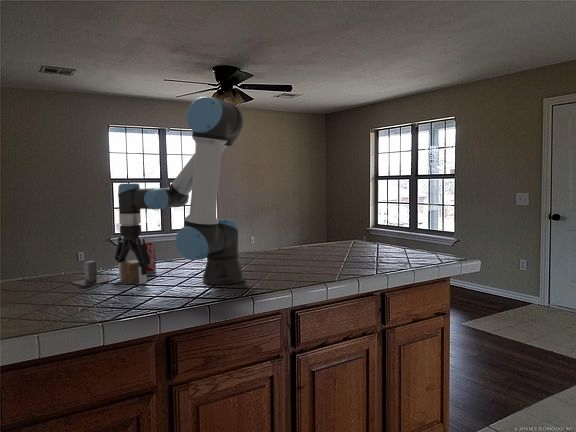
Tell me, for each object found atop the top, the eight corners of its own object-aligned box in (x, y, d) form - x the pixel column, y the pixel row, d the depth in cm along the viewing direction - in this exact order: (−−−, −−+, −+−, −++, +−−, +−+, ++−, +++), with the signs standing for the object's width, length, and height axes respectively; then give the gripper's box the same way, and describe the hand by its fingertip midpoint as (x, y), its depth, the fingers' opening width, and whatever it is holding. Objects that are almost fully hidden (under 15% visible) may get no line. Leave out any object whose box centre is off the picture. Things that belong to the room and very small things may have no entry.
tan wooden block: (143, 281, 163) (143, 261, 162) (130, 283, 158) (129, 263, 158) (135, 279, 166) (134, 259, 166) (122, 282, 162) (121, 262, 161)
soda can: (150, 274, 175) (149, 242, 174) (134, 274, 176) (133, 242, 175) (159, 271, 182) (158, 240, 181) (143, 270, 183) (142, 240, 182)
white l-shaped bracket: (110, 281, 163) (109, 260, 162) (84, 287, 155) (83, 265, 154) (96, 278, 169) (95, 258, 168) (71, 283, 161) (69, 262, 160)
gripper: (159, 225, 156) (161, 283, 158) (121, 222, 171) (123, 275, 173) (140, 227, 150) (143, 287, 152) (103, 224, 165) (106, 278, 167)
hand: (132, 281), depth 162 cm, fingers open, 12 cm apart
